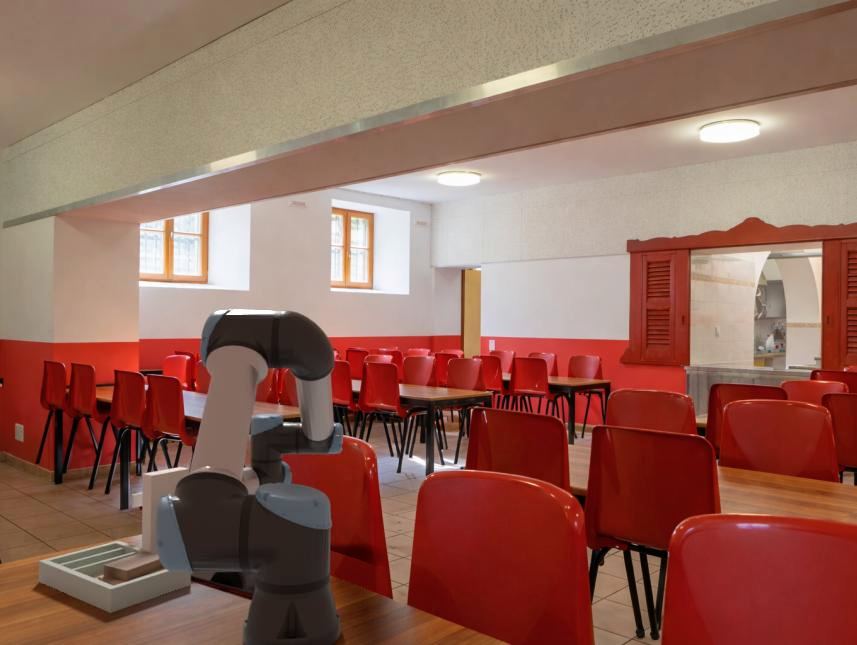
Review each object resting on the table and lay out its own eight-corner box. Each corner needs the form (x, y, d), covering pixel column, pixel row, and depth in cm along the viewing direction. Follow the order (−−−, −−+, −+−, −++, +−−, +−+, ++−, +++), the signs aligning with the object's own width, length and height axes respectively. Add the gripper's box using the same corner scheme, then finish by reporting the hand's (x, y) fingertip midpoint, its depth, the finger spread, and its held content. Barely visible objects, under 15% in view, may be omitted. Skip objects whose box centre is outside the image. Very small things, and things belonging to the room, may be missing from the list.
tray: (190, 585, 134) (190, 564, 134) (110, 612, 121) (110, 589, 121) (117, 559, 148) (118, 540, 148) (38, 582, 135) (39, 560, 135)
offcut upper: (166, 566, 134) (167, 556, 134) (126, 582, 126) (127, 570, 126) (144, 561, 137) (144, 551, 137) (103, 576, 129) (103, 565, 129)
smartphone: (213, 553, 151) (302, 574, 138) (213, 560, 151) (302, 582, 138) (164, 569, 141) (255, 594, 127) (164, 577, 141) (255, 602, 127)
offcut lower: (169, 579, 133) (169, 569, 133) (120, 596, 124) (120, 584, 124) (146, 572, 137) (147, 561, 137) (97, 587, 128) (97, 576, 128)
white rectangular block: (187, 552, 153) (188, 468, 153) (150, 564, 146) (151, 475, 146) (179, 550, 155) (180, 467, 155) (141, 561, 147) (142, 473, 147)
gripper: (269, 511, 158) (185, 534, 140) (200, 495, 172) (116, 514, 154) (270, 477, 158) (186, 496, 140) (201, 464, 172) (117, 479, 154)
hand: (149, 505), depth 147 cm, fingers open, 11 cm apart
